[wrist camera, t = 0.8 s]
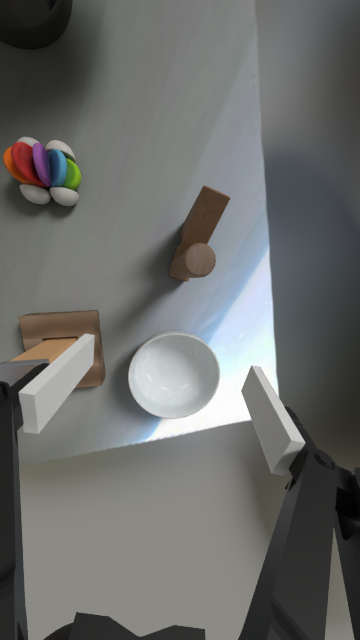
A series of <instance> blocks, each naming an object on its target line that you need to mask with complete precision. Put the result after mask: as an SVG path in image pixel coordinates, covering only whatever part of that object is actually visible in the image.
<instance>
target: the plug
mask: <svg viewBox="0 0 360 640" xmlns="http://www.w3.org/2000/svg"><path fill="white" fill-rule="evenodd" d="M77 340H78V336H74V337H58V338H49V339H48V340H46V341H44V342H42V343H41V344H39V345H37V346H35V347H33V348H32V349H30V350H28V351H26V352H25V353H23V354H21V355H19V356H17V357H16V358H14V359H12V360H10V361H6V362H2V363H0V381H5V382H7V383H8V384H9V386H10V387H11V386H12V385H13V384H15V383H16V382H17V381H18V380H19V379H21V378H23V376H24V375H26V374H27V373H28V372H29V371H31V370H32V369H33V368H34V367H36V366H38V365H40V364H42V363H48V364H51V363H52V362H53V361H54V360H56V359H57V358H58V357H59V356H60V355H61V354H62V353H64V352H65V351H66V350H67V349H68V348H69V347H70V346H71V345H73V344H74V343H75V342H76V341H77Z"/></svg>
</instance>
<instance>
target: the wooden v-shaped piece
mask: <svg viewBox="0 0 360 640" xmlns="http://www.w3.org/2000/svg"><path fill="white" fill-rule="evenodd" d="M229 200H230V197H229V196H227V195H225V194H223V193H221V192H218V191H216V190H214V189H212V188H209V187H207V186H203V188H202V190H201V192H200V193H199V195H198V197H197V199H196V201H195V203H194V205H193V207H192V209H191V210H190V212H189V214H188V216H187V218H186V220H185V222H184V225H183V229H182V232H181V235H180V239H181V240H182V242H181V245H179V246H178V247H177V249H176V251H175V254H174V258H173V261H172V264H171V267H170V271H169V274H168V276H170V277H172V278H175V279H178V280H181V281H188V280H189V278H199V277H205V276H207V275H208V274H210V273H211V271H212V270H213V268H214V266H215V262H216V259H215V254H214V252H213V250H212V249H211V248H210V246H208V245H207V243H208V241H209V239H210V237H211V235H212V233H213V232H214V230H215V228H216V226H217V224H218V222H219V220H220V218H221V216H222V214H223V212H224V210H225V208H226V206H227V204H228V202H229Z"/></svg>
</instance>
